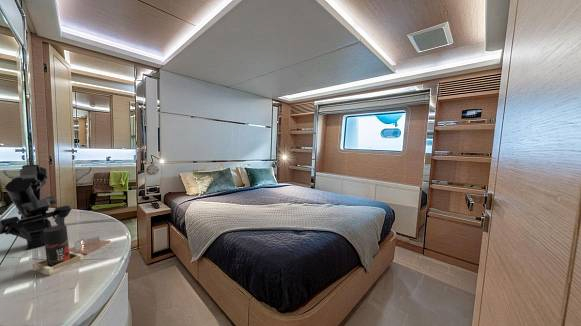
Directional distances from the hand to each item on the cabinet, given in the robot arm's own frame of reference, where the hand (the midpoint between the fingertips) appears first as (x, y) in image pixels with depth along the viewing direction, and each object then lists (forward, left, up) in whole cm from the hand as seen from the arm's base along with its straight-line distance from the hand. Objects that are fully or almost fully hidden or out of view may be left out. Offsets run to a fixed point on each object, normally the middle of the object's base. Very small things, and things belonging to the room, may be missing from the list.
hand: (48, 234), depth 82 cm
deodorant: (+4, +2, -12) cm, 13 cm away
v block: (-6, +11, -12) cm, 17 cm away
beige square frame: (+4, +2, -12) cm, 13 cm away
